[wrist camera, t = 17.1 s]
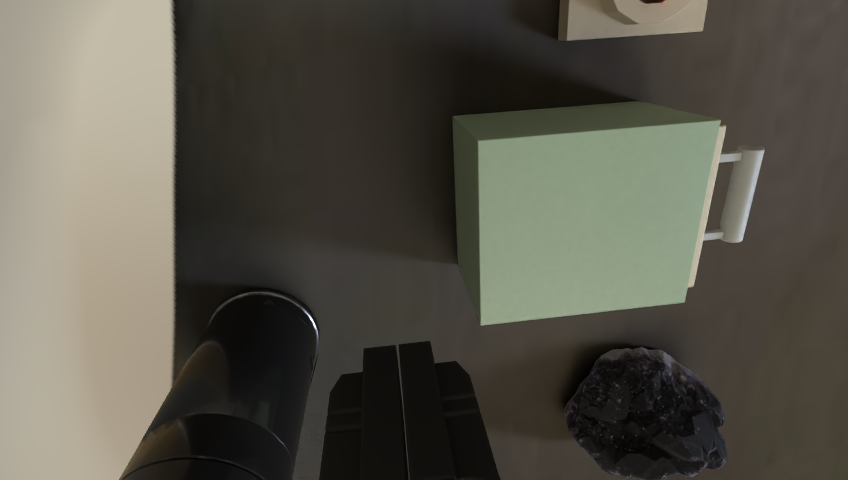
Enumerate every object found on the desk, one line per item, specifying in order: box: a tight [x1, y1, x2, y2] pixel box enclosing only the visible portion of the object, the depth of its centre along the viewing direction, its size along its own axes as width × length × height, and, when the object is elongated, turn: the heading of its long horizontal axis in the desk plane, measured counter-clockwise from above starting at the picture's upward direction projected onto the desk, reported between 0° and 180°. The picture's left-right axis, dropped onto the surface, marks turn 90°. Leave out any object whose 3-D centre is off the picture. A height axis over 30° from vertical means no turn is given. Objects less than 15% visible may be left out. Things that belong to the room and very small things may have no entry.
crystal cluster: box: [563, 347, 727, 480], centre depth 44 cm, size 13×14×10 cm
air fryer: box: [452, 101, 721, 325], centre depth 34 cm, size 15×13×9 cm
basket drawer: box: [688, 124, 765, 287], centre depth 34 cm, size 19×12×7 cm, turn 94°
